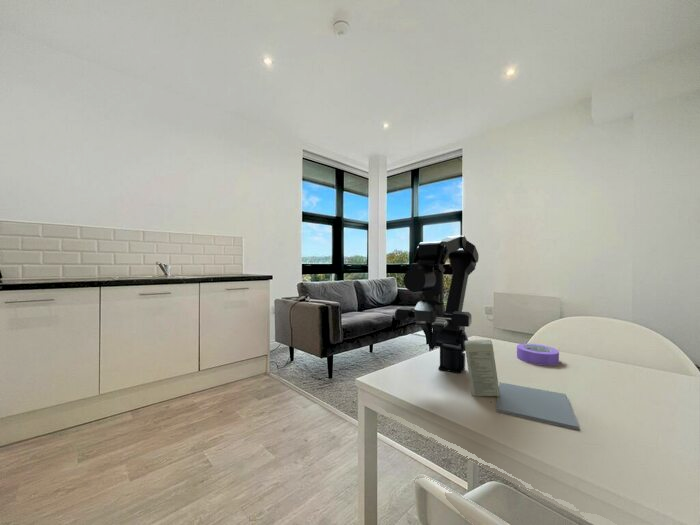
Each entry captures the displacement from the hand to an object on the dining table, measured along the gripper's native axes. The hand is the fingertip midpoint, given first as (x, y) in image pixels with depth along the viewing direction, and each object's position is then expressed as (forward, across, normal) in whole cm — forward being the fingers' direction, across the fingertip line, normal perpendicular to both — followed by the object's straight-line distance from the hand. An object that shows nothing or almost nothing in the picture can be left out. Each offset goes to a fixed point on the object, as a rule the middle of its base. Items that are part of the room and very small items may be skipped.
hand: (431, 349), depth 77 cm
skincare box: (+9, +13, 0) cm, 15 cm away
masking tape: (+10, +25, +37) cm, 46 cm away
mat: (+9, +22, 0) cm, 24 cm away
